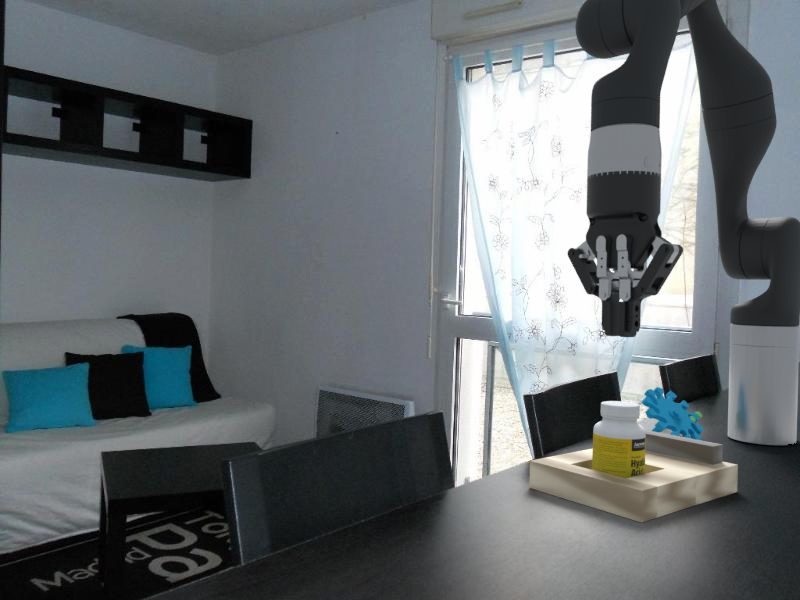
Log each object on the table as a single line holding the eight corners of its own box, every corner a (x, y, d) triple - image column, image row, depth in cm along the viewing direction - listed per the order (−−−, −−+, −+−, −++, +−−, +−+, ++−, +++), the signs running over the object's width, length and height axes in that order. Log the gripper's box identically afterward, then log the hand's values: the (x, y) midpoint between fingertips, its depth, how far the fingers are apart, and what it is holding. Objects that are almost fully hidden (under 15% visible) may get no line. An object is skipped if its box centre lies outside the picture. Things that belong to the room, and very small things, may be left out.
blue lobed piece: (668, 438, 98) (637, 381, 104) (641, 461, 101) (613, 405, 108) (723, 443, 102) (690, 388, 109) (696, 465, 106) (665, 410, 113)
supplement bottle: (637, 505, 72) (639, 409, 72) (585, 496, 75) (586, 404, 74) (649, 492, 76) (651, 402, 76) (599, 484, 79) (601, 398, 79)
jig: (626, 465, 88) (627, 425, 88) (737, 491, 77) (738, 446, 77) (529, 487, 77) (530, 442, 77) (641, 522, 66) (642, 469, 66)
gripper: (702, 170, 72) (699, 339, 72) (593, 184, 83) (589, 332, 83) (661, 160, 67) (657, 341, 67) (550, 177, 78) (547, 333, 78)
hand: (620, 335), depth 75 cm, fingers closed
